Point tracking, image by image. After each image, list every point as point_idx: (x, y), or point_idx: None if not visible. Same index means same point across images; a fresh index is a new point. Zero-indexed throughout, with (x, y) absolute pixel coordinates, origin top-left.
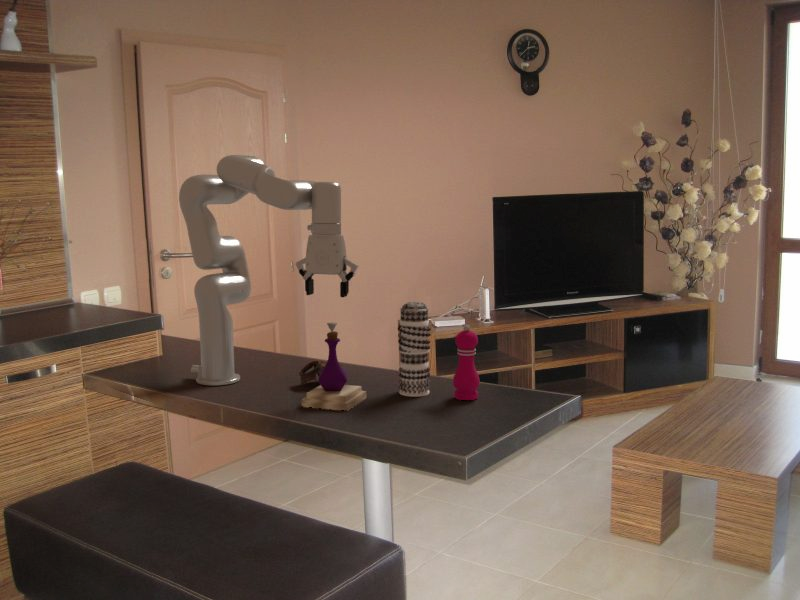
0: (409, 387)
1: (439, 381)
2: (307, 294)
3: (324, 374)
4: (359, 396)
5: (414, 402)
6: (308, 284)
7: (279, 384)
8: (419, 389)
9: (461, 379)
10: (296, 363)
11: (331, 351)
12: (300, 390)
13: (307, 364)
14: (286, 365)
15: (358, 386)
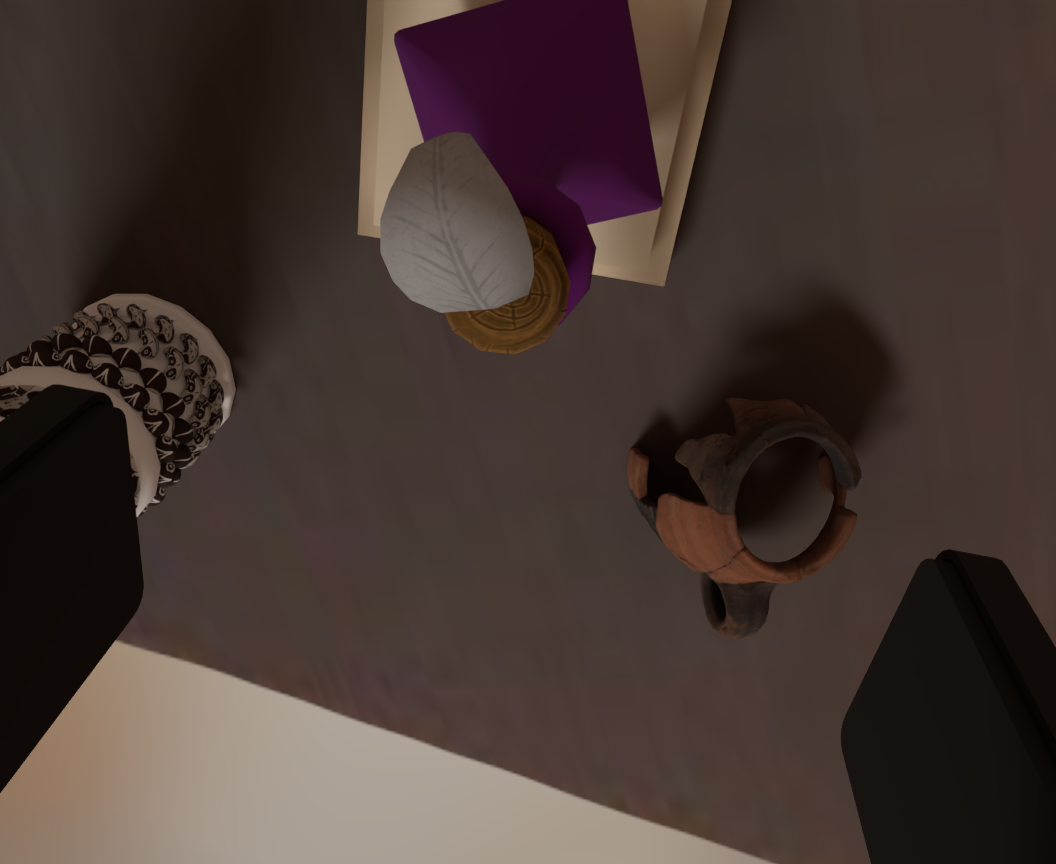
0: (124, 321)
1: None
2: (969, 553)
3: (572, 15)
4: (364, 106)
5: (68, 171)
6: (1043, 760)
7: (974, 455)
8: (80, 328)
9: None
10: None
11: (515, 162)
12: (819, 342)
13: (820, 556)
14: None
15: None
